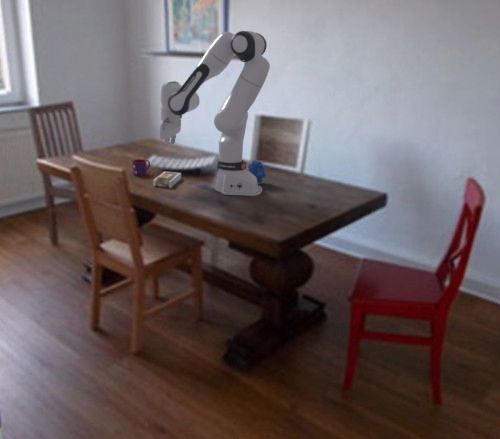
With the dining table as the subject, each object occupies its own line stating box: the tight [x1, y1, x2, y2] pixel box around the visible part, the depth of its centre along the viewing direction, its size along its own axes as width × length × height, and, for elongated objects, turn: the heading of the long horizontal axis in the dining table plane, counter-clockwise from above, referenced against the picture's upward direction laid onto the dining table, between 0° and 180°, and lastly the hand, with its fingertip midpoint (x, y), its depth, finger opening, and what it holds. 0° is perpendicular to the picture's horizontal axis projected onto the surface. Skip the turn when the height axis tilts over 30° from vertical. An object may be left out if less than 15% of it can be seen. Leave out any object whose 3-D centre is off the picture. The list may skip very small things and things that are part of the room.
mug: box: [132, 158, 151, 177], centre depth 280 cm, size 7×10×7 cm
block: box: [156, 172, 173, 188], centre depth 264 cm, size 5×7×4 cm
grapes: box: [247, 160, 267, 183], centre depth 269 cm, size 12×7×12 cm, turn 127°
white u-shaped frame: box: [152, 171, 182, 189], centre depth 267 cm, size 9×16×3 cm, turn 169°
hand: (170, 145), depth 267 cm, fingers open, 6 cm apart
